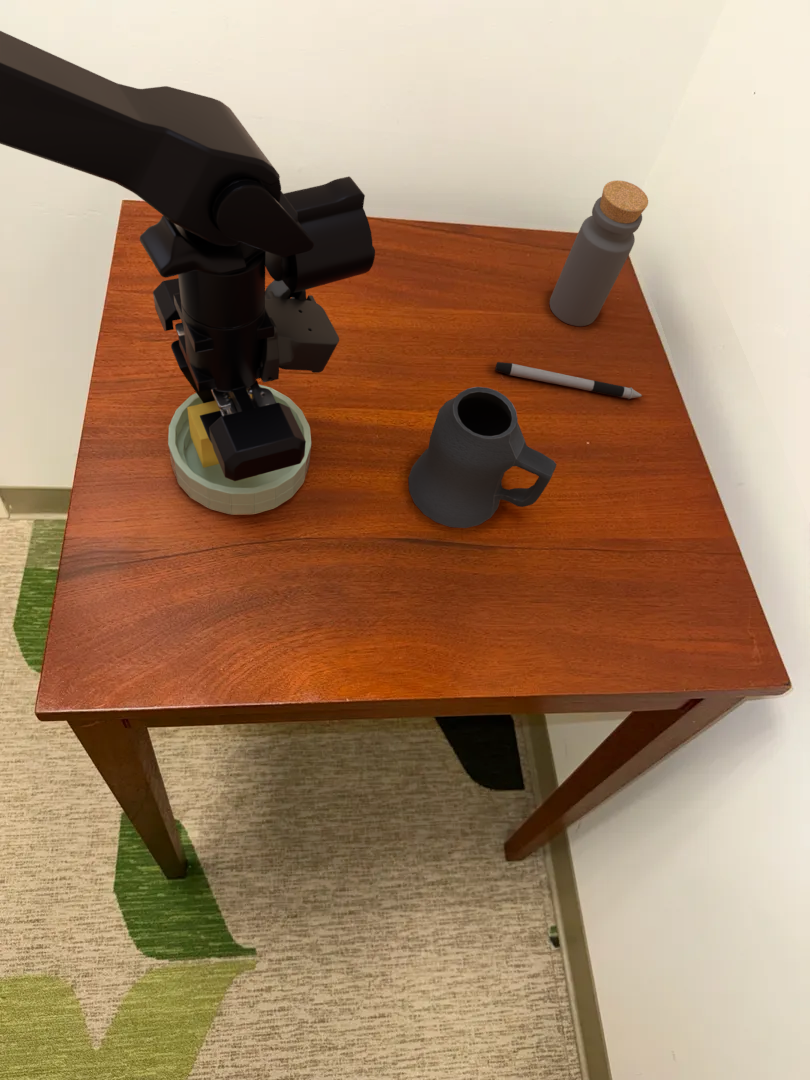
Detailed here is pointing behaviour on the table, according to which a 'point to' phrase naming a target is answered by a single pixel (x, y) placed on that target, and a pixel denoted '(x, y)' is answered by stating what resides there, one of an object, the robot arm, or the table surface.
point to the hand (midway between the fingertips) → (229, 436)
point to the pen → (566, 380)
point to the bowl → (223, 492)
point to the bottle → (598, 254)
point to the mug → (475, 461)
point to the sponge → (202, 432)
